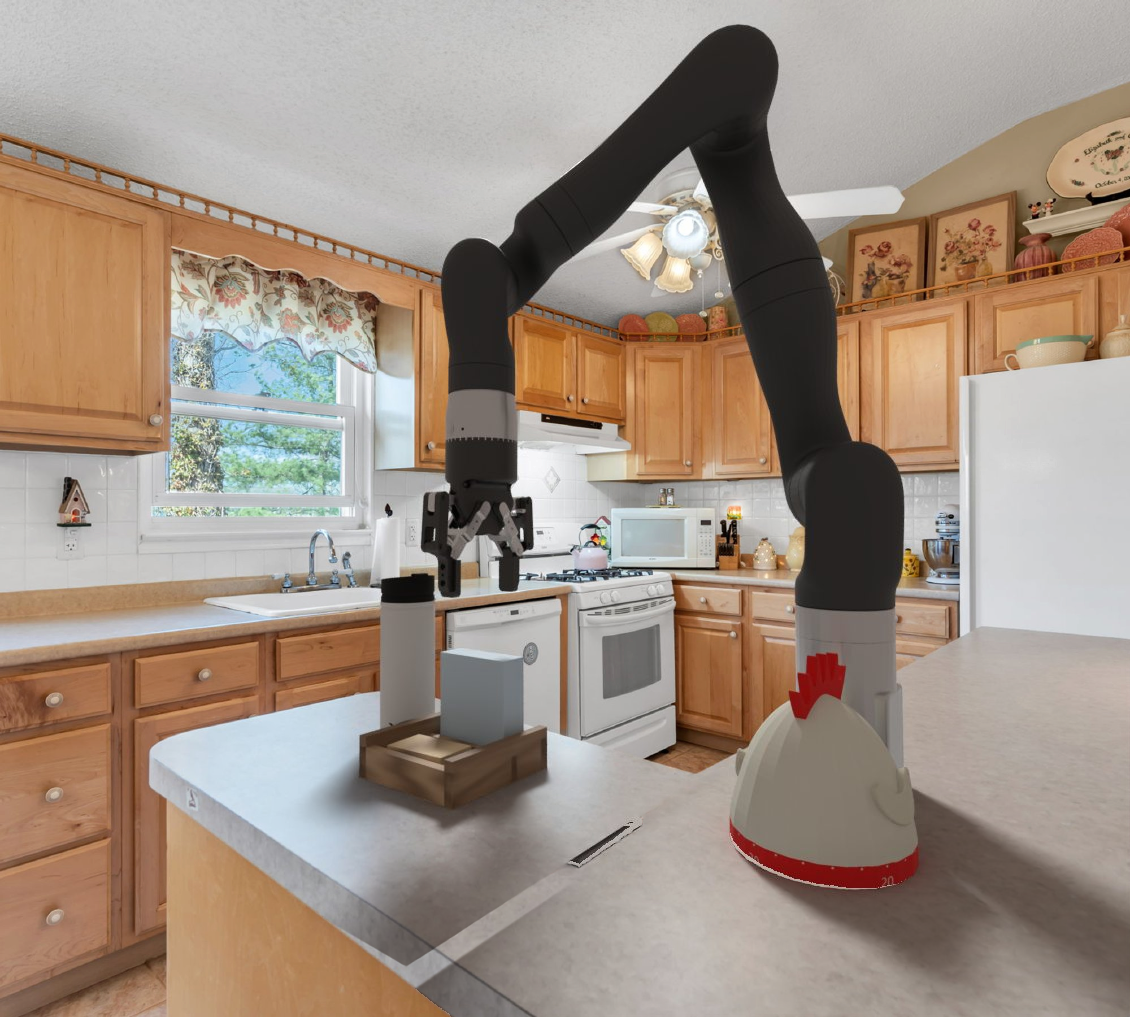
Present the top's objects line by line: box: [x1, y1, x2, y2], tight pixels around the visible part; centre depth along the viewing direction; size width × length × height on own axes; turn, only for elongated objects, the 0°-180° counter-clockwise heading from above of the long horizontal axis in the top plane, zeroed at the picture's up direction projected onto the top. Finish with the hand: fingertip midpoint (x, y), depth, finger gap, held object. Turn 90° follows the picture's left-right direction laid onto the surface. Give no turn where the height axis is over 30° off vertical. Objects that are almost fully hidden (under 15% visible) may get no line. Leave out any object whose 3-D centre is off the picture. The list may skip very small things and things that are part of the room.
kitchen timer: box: [729, 652, 920, 888], centre depth 55 cm, size 14×14×15 cm
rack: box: [358, 711, 548, 810], centre depth 68 cm, size 13×13×5 cm
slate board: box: [440, 647, 525, 746], centre depth 71 cm, size 9×3×11 cm, turn 53°
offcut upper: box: [387, 734, 471, 765], centre depth 66 cm, size 7×4×2 cm, turn 57°
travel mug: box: [379, 572, 436, 729], centre depth 80 cm, size 6×7×20 cm
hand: (480, 594), depth 72 cm, fingers open, 8 cm apart
